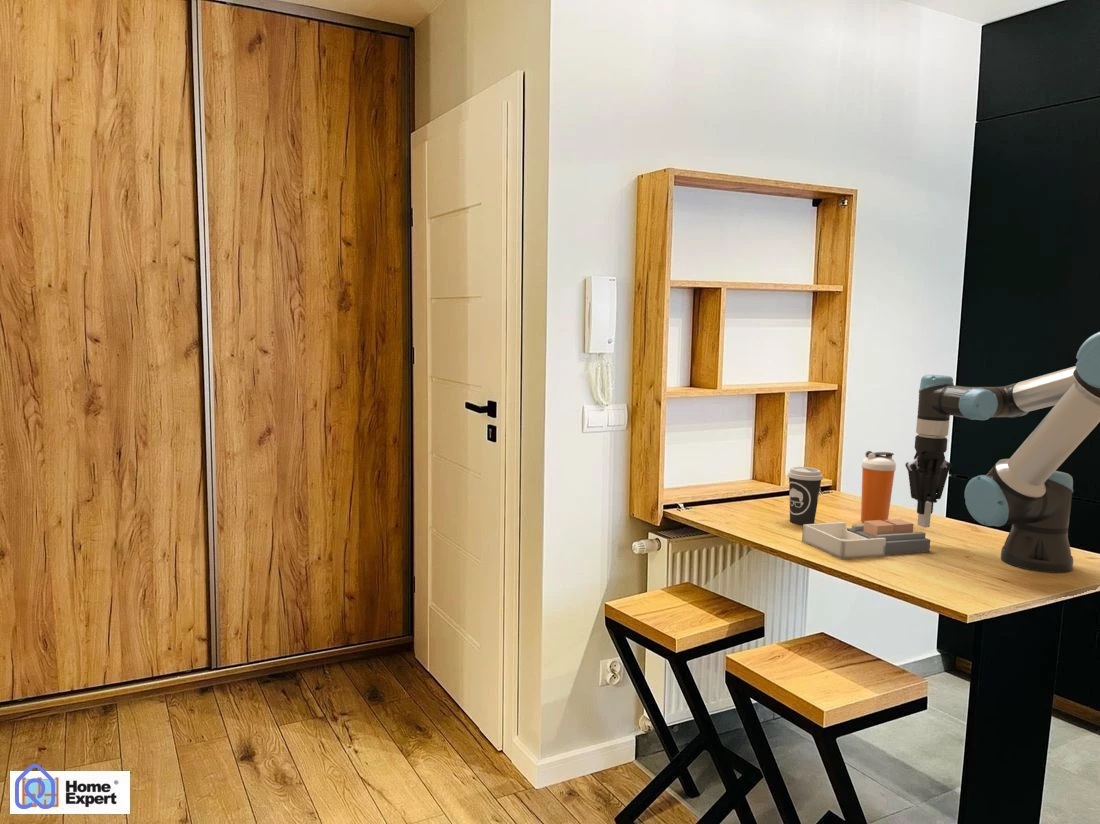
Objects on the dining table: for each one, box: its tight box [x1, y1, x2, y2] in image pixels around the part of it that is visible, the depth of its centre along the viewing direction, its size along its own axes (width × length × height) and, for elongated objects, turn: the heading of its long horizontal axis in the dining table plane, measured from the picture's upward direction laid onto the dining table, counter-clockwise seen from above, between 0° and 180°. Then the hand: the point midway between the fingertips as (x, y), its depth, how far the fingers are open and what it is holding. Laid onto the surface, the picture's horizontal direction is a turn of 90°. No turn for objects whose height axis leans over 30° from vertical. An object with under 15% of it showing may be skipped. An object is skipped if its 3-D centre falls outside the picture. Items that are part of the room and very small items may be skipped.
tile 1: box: [863, 520, 894, 537], centre depth 215 cm, size 5×5×3 cm
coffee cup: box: [787, 466, 824, 526], centre depth 236 cm, size 10×10×15 cm
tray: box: [801, 521, 886, 560], centre depth 212 cm, size 16×12×4 cm
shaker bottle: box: [860, 450, 897, 524], centre depth 239 cm, size 9×9×20 cm
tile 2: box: [884, 518, 914, 534], centre depth 217 cm, size 5×5×3 cm
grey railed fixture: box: [846, 524, 931, 556], centre depth 216 cm, size 14×14×4 cm
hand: (923, 526), depth 219 cm, fingers closed
